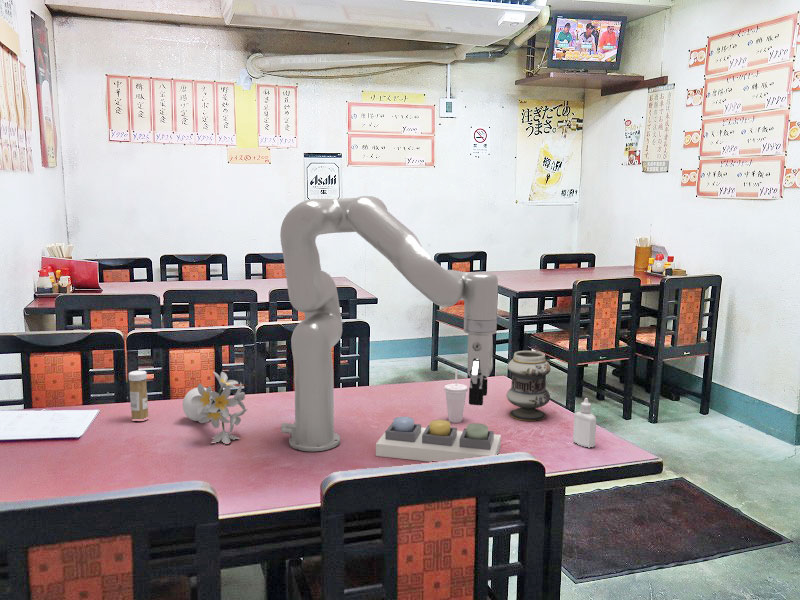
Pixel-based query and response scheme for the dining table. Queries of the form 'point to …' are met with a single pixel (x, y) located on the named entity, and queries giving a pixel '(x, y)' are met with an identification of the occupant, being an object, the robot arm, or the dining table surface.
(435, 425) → the mustard button
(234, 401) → the flower vase
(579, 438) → the eye dropper bottle
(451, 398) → the smoothie
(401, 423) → the blue button
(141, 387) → the sprinkles bottle
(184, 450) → the dining table surface
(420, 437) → the button panel
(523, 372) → the apothecary jar
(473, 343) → the robot arm
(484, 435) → the sage button
